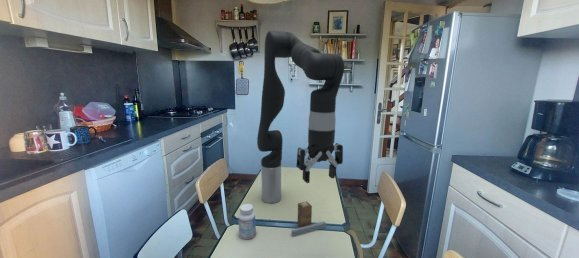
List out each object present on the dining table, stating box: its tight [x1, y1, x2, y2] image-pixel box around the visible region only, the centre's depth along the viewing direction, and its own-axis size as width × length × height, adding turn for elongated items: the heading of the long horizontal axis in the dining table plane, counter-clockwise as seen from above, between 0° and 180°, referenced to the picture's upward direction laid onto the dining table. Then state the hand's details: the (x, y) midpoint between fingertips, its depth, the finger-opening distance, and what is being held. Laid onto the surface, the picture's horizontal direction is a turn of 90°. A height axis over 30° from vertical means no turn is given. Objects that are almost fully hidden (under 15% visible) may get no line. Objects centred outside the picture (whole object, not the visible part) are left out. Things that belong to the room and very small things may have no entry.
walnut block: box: [297, 200, 313, 228], centre depth 95 cm, size 4×4×9 cm
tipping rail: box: [291, 221, 327, 237], centre depth 92 cm, size 1×14×2 cm, turn 113°
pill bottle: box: [238, 203, 257, 240], centre depth 89 cm, size 6×6×11 cm
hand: (319, 179), depth 73 cm, fingers open, 8 cm apart
